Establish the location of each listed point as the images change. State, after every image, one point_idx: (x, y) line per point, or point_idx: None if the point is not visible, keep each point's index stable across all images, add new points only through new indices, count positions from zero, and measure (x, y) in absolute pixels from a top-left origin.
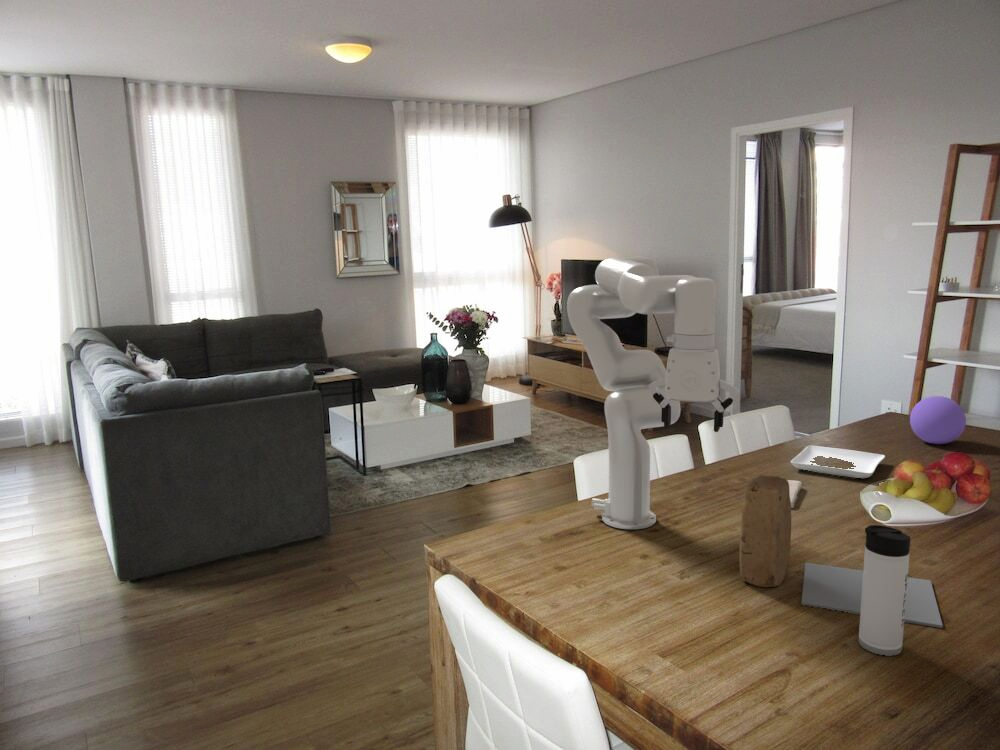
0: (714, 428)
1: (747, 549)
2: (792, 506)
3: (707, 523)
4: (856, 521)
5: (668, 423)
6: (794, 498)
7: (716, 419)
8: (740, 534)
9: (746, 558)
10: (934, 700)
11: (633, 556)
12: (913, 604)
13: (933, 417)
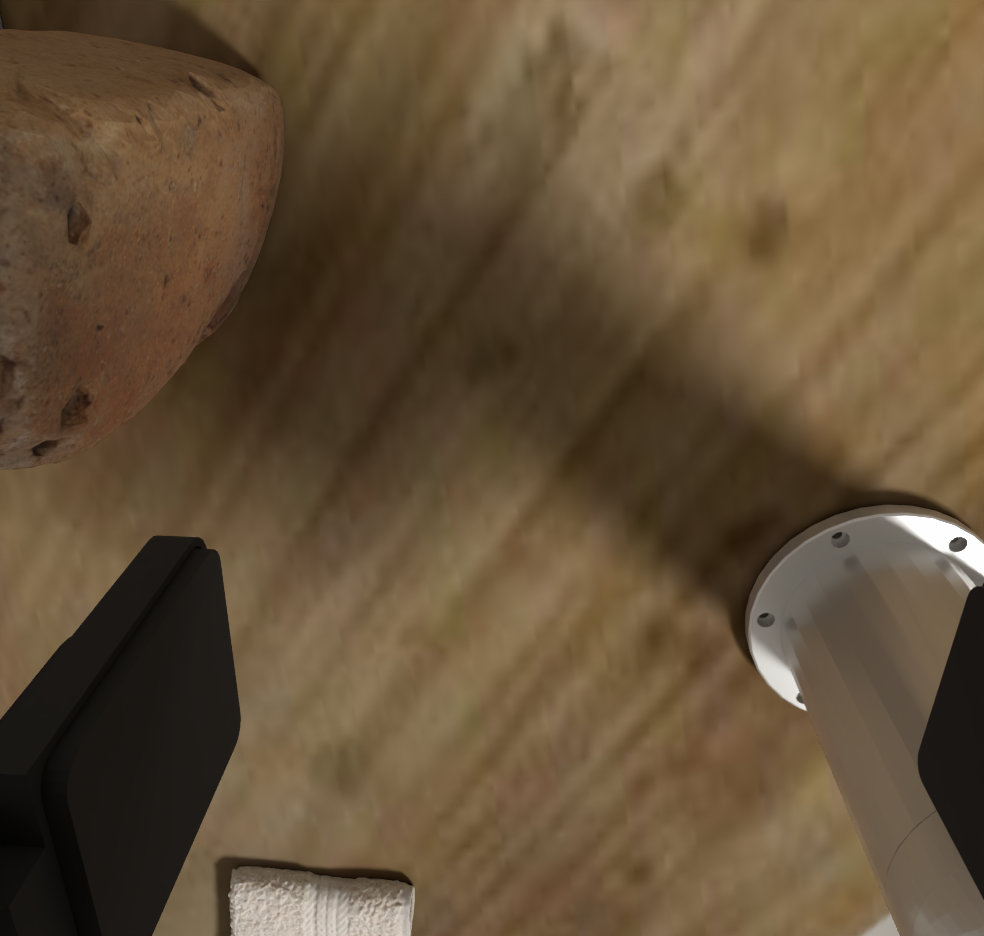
0: (188, 567)
1: (188, 65)
2: (234, 873)
3: (524, 666)
4: None
5: (980, 665)
6: (231, 922)
7: (79, 659)
8: (216, 116)
9: (211, 65)
10: None
11: (820, 216)
12: None
13: None
